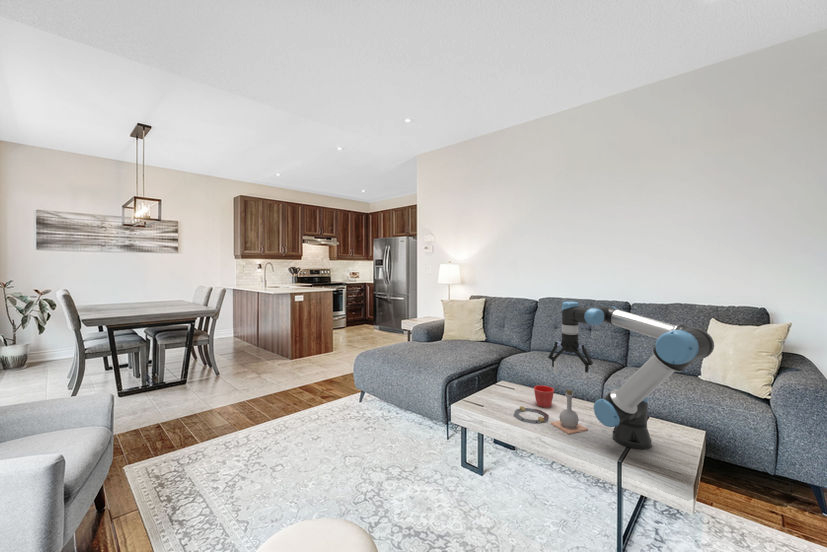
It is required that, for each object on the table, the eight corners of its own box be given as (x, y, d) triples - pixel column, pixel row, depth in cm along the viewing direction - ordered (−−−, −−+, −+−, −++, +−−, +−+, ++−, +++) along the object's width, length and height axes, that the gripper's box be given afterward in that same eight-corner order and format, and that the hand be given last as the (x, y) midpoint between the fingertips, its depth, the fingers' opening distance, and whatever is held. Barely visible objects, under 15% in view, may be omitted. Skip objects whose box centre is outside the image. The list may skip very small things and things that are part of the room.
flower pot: (557, 408, 197) (557, 391, 197) (537, 408, 198) (537, 391, 197) (550, 401, 208) (550, 385, 208) (531, 401, 208) (531, 385, 208)
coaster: (587, 430, 171) (587, 428, 171) (568, 434, 167) (568, 432, 167) (569, 420, 182) (569, 418, 182) (550, 424, 178) (550, 422, 178)
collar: (555, 420, 182) (555, 416, 182) (528, 425, 176) (528, 421, 176) (533, 408, 198) (533, 404, 198) (508, 412, 192) (508, 408, 192)
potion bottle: (556, 422, 179) (556, 386, 178) (573, 421, 179) (573, 386, 179) (564, 430, 170) (565, 392, 169) (582, 429, 170) (583, 392, 170)
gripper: (599, 335, 168) (599, 379, 169) (546, 329, 184) (546, 369, 185) (596, 337, 163) (595, 383, 163) (541, 331, 178) (541, 373, 179)
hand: (569, 376), depth 174 cm, fingers open, 13 cm apart
